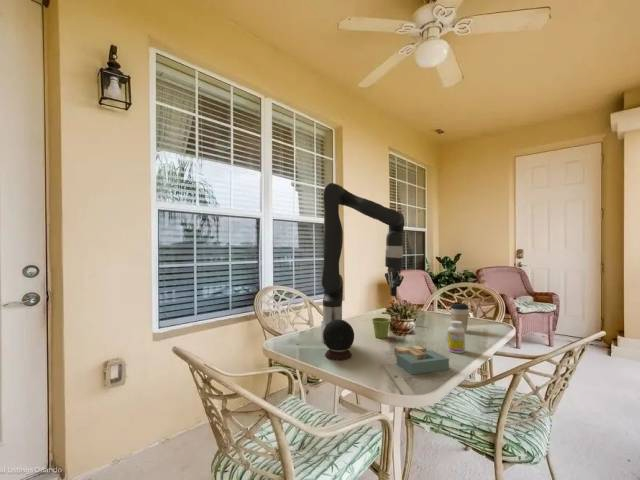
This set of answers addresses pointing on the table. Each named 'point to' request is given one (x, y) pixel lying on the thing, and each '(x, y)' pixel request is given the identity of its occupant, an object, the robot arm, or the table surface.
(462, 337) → the supplement bottle
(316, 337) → the table surface
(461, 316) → the coffee cup
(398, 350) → the t block
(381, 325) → the plant pot
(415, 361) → the dock
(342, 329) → the black ball on stand
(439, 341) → the table surface
